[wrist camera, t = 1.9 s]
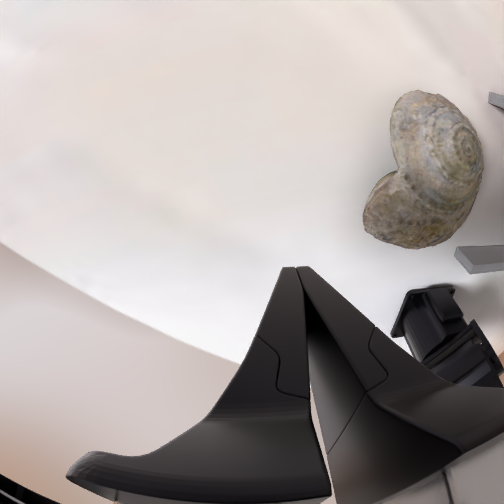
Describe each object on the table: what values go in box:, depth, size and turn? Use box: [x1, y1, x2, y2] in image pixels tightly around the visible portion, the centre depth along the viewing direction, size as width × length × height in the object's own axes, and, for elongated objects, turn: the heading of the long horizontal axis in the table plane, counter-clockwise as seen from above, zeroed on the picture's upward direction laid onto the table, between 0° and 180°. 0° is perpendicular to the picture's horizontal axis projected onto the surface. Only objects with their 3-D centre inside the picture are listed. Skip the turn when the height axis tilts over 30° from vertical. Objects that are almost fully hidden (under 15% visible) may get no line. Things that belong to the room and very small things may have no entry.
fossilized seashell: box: [363, 90, 483, 249], centre depth 17 cm, size 11×11×7 cm
